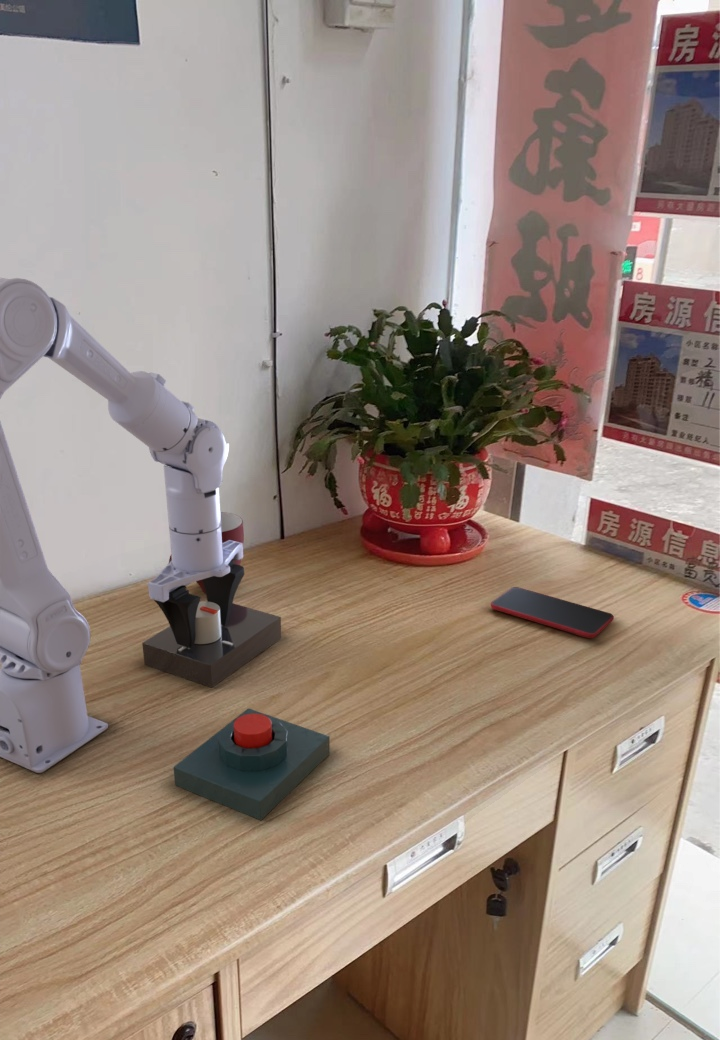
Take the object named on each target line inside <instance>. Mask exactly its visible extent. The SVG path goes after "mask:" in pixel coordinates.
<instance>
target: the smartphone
mask: <svg viewBox="0 0 720 1040" xmlns="http://www.w3.org/2000/svg"><path fill="white" fill-rule="evenodd" d="M490 607H491V608H492V609H493V610H494V611H498V612H501V613H505V614H508V615H511V616H514V617H518V618H521V619H524V620H527V621H531V622H533V623H537V624H540V625H544V626H547V627H551V628H554V629H558V630H561V631H564V632H566V633H570V634H573V635H575V636H579V637H582V638H586V639H594V638H596V637H597V636H598V635H599V634H600V633H601V632H602V631H603V630H604V629H606V627H607V626H608V625H610V623H612V622H613V621H614V620H615V616H614V614H612V613H610V612H607V611H604V610H600V609H597V608H593V607H590V606H586V605H582V604H579V603H575V602H572V601H568V600H564V599H562V598H558V597H555V596H550V595H548V594H544V593H541V592H536V591H533V590H529V589H526V588H522V587H519V586H513V587H511V588H509V589H508V590H506V591H505V592H504V593H502V594H501V595H500V596H498V597H497V598H495V599H493V600H492V601H491V602H490Z"/></svg>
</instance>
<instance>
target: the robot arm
mask: <svg viewBox="0 0 720 1040" xmlns="http://www.w3.org/2000/svg"><path fill="white" fill-rule="evenodd" d="M43 357H44V358H48V359H50V360H51V361H52V362H53V363H55V364H56V365H58V366H59V367H61V368H63V369H64V370H65V371H67V372H68V373H69V374H71V375H72V376H73V377H75V378H76V379H77V380H79V381H81V382H82V383H84V384H85V385H86V386H87V387H88V388H91V389H92V390H94V391H95V392H96V393H98V395H100V396H102V397H103V398H104V399H106V400H107V409H108V414H109V416H110V418H111V419H112V420H113V421H114V422H115V423H116V424H118V425H119V426H121V427H122V428H123V429H125V430H126V431H127V432H128V433H129V434H131V435H132V436H133V437H135V438H136V439H138V440H139V441H140V442H142V444H144V445H145V446H147V447H148V450H149V453H150V456H151V457H152V459H153V461H154V462H156V463H160V464H162V465H163V474H164V485H165V497H166V509H167V520H168V532H169V533H168V534H169V543H170V545H169V546H170V555H171V557H172V560H171V562H170V563H169V562H168V564H167V565H165V567H164V568H163V569H162V570H161V572H159V574H157V575H156V576H155V578H153V579H152V580H150V581H148V582H147V586H148V587H147V588H148V595H149V599H150V600H153V601H154V602H155V603H156V604H157V606H158V607H159V608H160V610H161V612H162V613H163V615H164V616H165V619H166V620H167V622H168V624H169V626H170V627H171V629H172V632H173V634H174V637H175V640H176V642H177V644H179V645H182V646H185V647H188V648H191V647H192V646H194V643H195V619H196V612H197V608H198V604H199V602H200V601H201V600H202V597H201V596H198V595H195V594H191V593H190V590H189V589H187V586H188V585H190V584H192V583H195V582H196V581H199V580H203V583H204V587H205V591H206V593H205V594H206V601H208V602H213V603H216V604H217V605H219V607H220V612H221V625H224V626H225V625H227V624H228V621H229V617H230V612H231V607H232V603H233V604H234V598H235V596H236V593H237V590H238V587H239V586H240V583H241V581H242V580H243V578H244V576H245V567H244V566H243V565H241V566H240V565H236V564H234V560H240V559H241V560H242V559H244V543H240V542H236V541H232V540H228V541H226V542H224V543H222V533H221V514H220V512H221V501H220V499H221V498H220V487H221V485H222V482H223V469H224V466H225V464H226V462H227V459H228V456H229V453H230V442H227V440H226V437H225V435H224V434H223V432H222V430H221V428H220V426H218V424H216V423H215V422H213V421H211V420H208V419H204V418H199V417H198V416H197V414H196V413H195V412H194V409H195V407H194V406H193V405H192V404H191V403H190V402H189V401H188V402H187V401H184V400H180V398H178V397H177V396H176V395H175V394H174V393H173V392H171V391H170V390H169V389H168V388H167V387H166V384H167V380H166V379H165V378H164V376H162V375H161V374H159V373H155V372H147V371H143V370H138V371H133V372H130V371H129V370H128V369H127V368H126V367H125V366H124V365H123V364H122V363H120V362H119V361H118V360H117V358H115V357H114V355H112V354H111V353H110V352H109V351H108V350H107V349H106V348H105V347H104V346H103V345H102V344H101V343H100V342H99V341H97V339H96V338H95V337H93V336H92V334H90V333H89V332H88V331H87V330H86V329H85V328H84V327H83V326H82V325H81V324H80V323H79V322H78V321H77V320H75V318H74V317H73V316H72V315H71V314H70V313H69V311H68V308H67V307H66V305H65V304H64V303H62V302H61V301H59V300H57V299H56V298H54V297H51V296H49V294H47V292H46V291H45V290H44V289H43V288H42V287H41V286H40V285H38V283H35V282H34V281H32V280H29V279H26V278H19V277H15V278H14V277H13V278H6V277H0V399H1V398H2V397H3V395H4V394H5V393H6V391H7V390H8V389H9V388H11V387H12V386H13V385H14V384H15V383H16V382H17V381H18V380H19V379H20V378H22V377H23V376H24V375H25V374H26V373H27V372H28V371H29V370H30V369H31V368H33V367H34V366H35V365H36V364H37V363H38V362H39V361H40V360H41V359H42V358H43ZM90 641H91V627H90V624H89V623H88V620H87V619H86V618H85V616H84V615H83V614H82V613H80V612H79V611H78V610H77V609H76V607H75V606H74V603H73V600H72V597H71V594H70V593H69V591H67V589H66V588H65V587H64V586H63V585H62V583H61V582H60V581H59V580H58V579H57V578H56V577H55V576H54V574H53V573H52V572H51V571H50V570H49V568H48V565H47V561H46V559H45V555H44V552H43V549H42V546H41V543H40V540H39V537H38V533H37V531H36V527H35V525H34V521H33V518H32V514H31V512H30V509H29V506H28V503H27V500H26V497H25V493H24V490H23V488H22V484H21V481H20V477H19V475H18V472H17V469H16V466H15V462H14V460H13V456H12V453H11V451H10V447H9V444H8V441H7V437H6V435H5V431H4V428H3V425H2V422H1V421H0V758H2V759H4V760H7V761H9V762H11V763H14V764H15V765H18V766H20V767H22V768H25V769H27V770H29V771H32V772H34V773H37V774H41V773H44V772H46V771H47V770H48V769H50V768H51V767H53V766H54V765H56V764H57V763H59V762H60V761H62V760H63V759H65V758H66V757H68V756H70V754H72V753H74V752H75V751H76V750H78V749H80V748H81V747H82V746H84V745H85V744H87V743H88V742H90V741H91V740H93V739H94V738H96V737H97V736H99V735H100V734H102V733H103V732H105V731H106V730H107V729H108V728H109V724H108V723H107V722H106V721H102V720H99V719H97V718H95V717H93V716H89V715H88V710H87V709H88V708H87V702H86V697H85V689H84V682H83V677H82V671H81V664H82V663H83V658H84V657H85V655H86V654H87V651H88V649H89V646H90V644H91V643H90Z"/></svg>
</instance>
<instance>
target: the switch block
mask: <svg viewBox="0 0 720 1040" xmlns="http://www.w3.org/2000/svg"><path fill="white" fill-rule="evenodd" d="M246 714H261V715H264V716H267V717H268V718H269V719H270V720H271V723H272V740H271V742H270V743H269V744H268V745H266V746H263V747H260V748H243V747H240V746H238V745H237V744H236V743H235V741H234V722H235V720H236V719H237V718H239V717H241V716H243V715H246ZM330 738H331V737H330V736H329V735H327V734H324V733H321V732H318V731H315V730H313V729H310V728H308V727H304V726H300V725H298V724H295V723H292V722H289V721H286V720H283V719H281V718H278V717H275V716H272V715H270V714H266V713H263V712H260V711H257V710H255V709H251V708H247V709H245V710H244V711H243V712H241V713H240V714H239V715H238V716H236V717H235V718H233V720H231V721H230V722H229V723H227V725H225V726H224V727H223V728H222V729H220V730H219V731H217V732H216V733H215V734H214V735H212V736H211V737H210V738H208V739H207V740H206V741H205V742H203V743H202V744H201V745H200V746H198V747H197V748H196V749H194V750H193V751H192V752H191V753H190V754H188V755H187V756H186V757H184V758H183V759H181V760H180V761H179V762H177V764H176V765H174V766H173V776H174V785H175V787H178V788H180V789H183V790H184V791H185V790H186V791H188V792H191V793H193V794H196V795H198V796H201V797H203V798H205V799H207V800H210V801H212V802H215V803H218V804H220V805H222V806H225V807H227V808H229V809H232V810H234V811H237V812H239V813H242V814H244V815H246V816H249V817H252V818H254V819H256V820H260V821H262V820H263V819H264V818H265V817H266V816H267V815H268V814H269V813H270V812H271V811H272V810H274V809H275V808H276V807H277V806H278V805H279V804H280V803H281V802H282V801H283V800H284V799H285V798H286V797H287V796H288V795H289V794H290V793H291V792H292V791H293V790H294V789H295V788H296V787H297V786H298V785H299V784H300V783H301V782H302V781H304V779H305V778H307V776H309V775H310V774H311V772H312V771H314V770H315V769H316V768H317V767H318V766H319V765H320V764H321V763H322V762H323V761H324V760H325V759H326V758H327V757H328V756H330V749H331V748H330V744H331V743H330V741H331V739H330Z"/></svg>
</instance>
